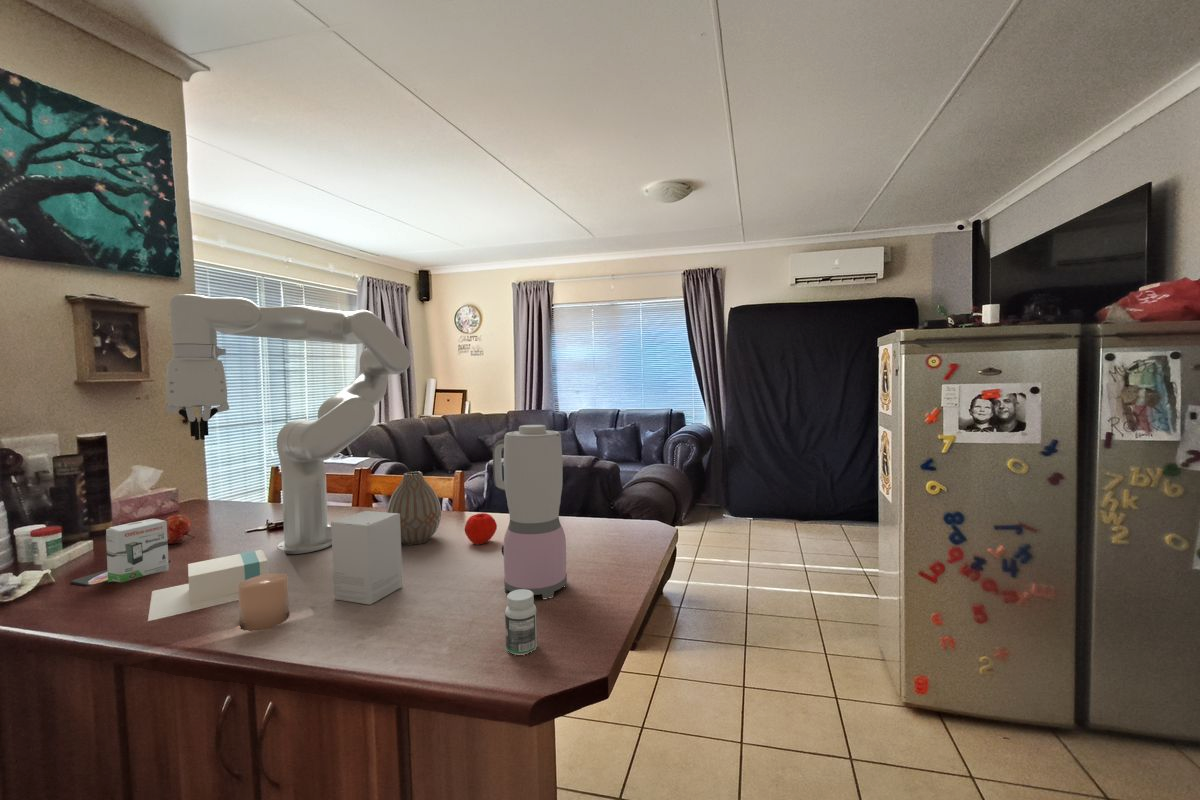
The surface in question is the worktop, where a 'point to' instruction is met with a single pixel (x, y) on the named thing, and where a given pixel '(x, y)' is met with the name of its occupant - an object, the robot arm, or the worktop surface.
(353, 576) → the supplement box
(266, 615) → the beige pillar candle
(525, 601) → the pill bottle
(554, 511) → the blender
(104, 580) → the smartphone
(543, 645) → the worktop surface
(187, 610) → the white flat sheet
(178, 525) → the pomegranate
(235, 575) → the carton
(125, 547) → the ink box
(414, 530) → the vase
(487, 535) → the apple
